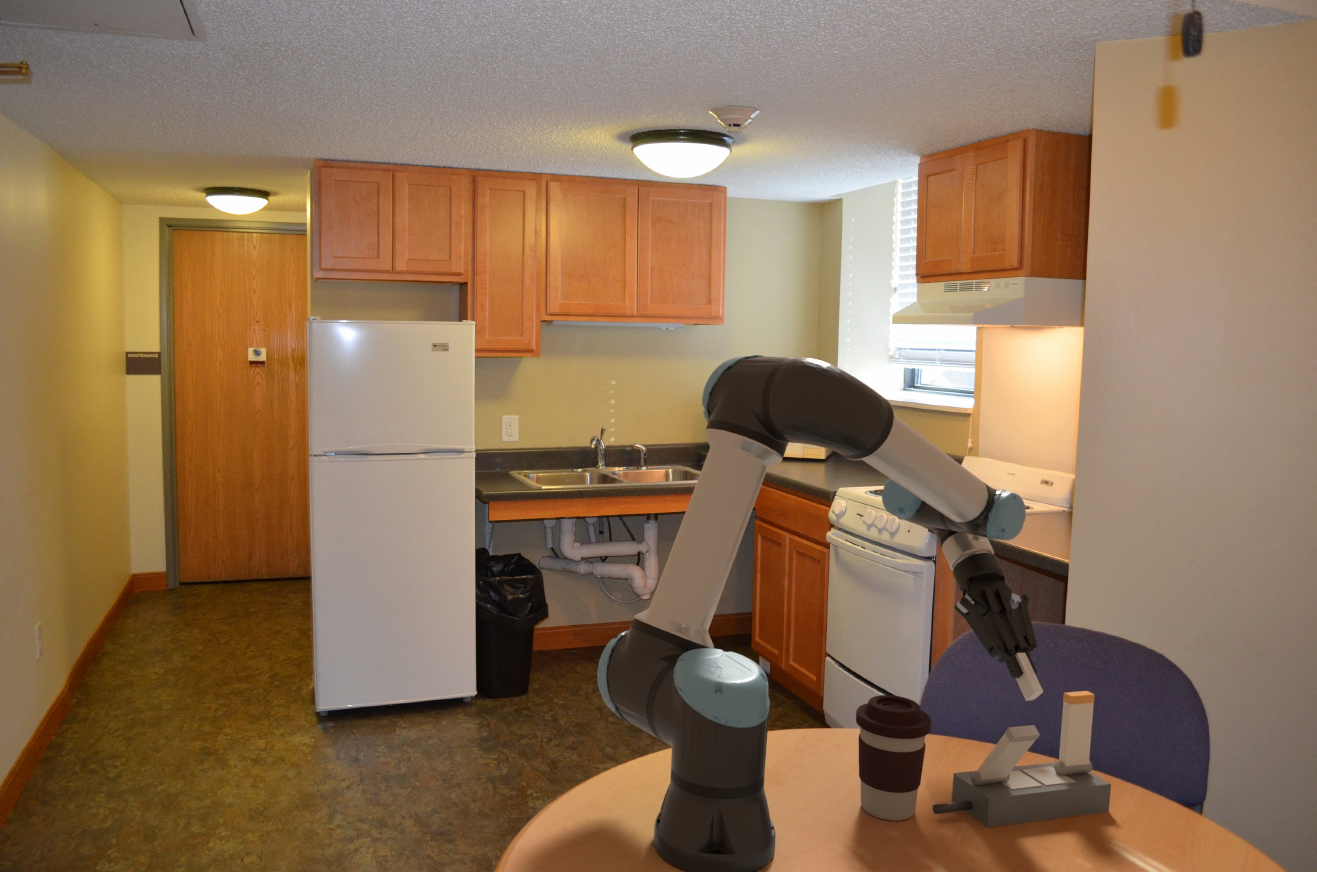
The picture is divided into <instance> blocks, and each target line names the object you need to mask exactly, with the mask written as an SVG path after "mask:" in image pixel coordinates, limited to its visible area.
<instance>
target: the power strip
mask: <svg viewBox="0 0 1317 872" xmlns="http://www.w3.org/2000/svg"><path fill="white" fill-rule="evenodd" d="M1056 762H1057V761H1053V762H1046V763H1044V762H1043V763H1037V764H1036V763H1035V764H1027V765H1025V764H1024V765H1016V766H1015V767H1014V768H1013V770H1012V771H1011V772H1010V773H1009V775H1010V778H1009V781H1006V782H998V783H989V784H980V785H974V784H973V783H972V781H971V772H972V771H973V770H969V771H962V772H961V771H959V772H954V773H953V776H952V777H953V778H952V790H951V791H952V793H951V802H946V803H945V802H944V803H937V804H933V805H932V806H931V807H932V808H931V809H932V813H934V815H941V814H948V813H955V812H963V811H965V812H967V814H969V815H971V816H972V817H973V818H974V819H975V820H976V821H978V822H979V823H981V824H982V825H983V826H985V827H986V828H993V827H1000V826H1009V825H1015V824H1016V825H1017V824H1023V823H1024V824H1025V823H1031V822H1040V821H1048V820H1049V821H1050V820H1056V819H1063V818H1071V817H1077V816H1087V815H1094V814H1102V813H1108V812H1109V811H1110V804H1111V803H1110V801H1111V789H1112V783H1110V782H1108V781H1107V780H1105V779H1104V778H1101V777H1100V776H1098V775H1096V774H1094V773H1092V771H1091V772H1086V773H1077V774H1068V775H1059V774H1057V773H1056V771H1055V763H1056Z"/></svg>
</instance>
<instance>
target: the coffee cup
mask: <svg viewBox="0 0 1317 872" xmlns="http://www.w3.org/2000/svg"><path fill="white" fill-rule="evenodd" d="M855 712H856V713H855V722H856V724H857V725H858V727H859V734H858V777H859V780H860V805H861V808H862V809H863V810H864V811H865V812H866V813H867V814H869V815H871V816H873V817H875V818H877V819H881V820H886V821H904V820H908V819H909V818H911V817H913V816H914V814H915V812H916V807H917V798H918V791H919V788H920V786H921V781H922V774H923V768H924V767H923V766H924V761H925V760H924V759H925V755H926V754H925V753H926V746H927V745H926V742H925V741H926V737H927V735H928V734H930V732H931V729H932V719H931V716H929V714H927V713H926V712H925V711H923V710H922V709H921V706H920V705H919V703H918V702H916V701H914V700H913V699H910V698H908V697H904V696H899V695H891V694H889V695H888V694H882V695H881V694H879V695H875V696H872V697H871V698H869V700H868V702H867V703H864V704H862V705H860V706H858V707H857V709H856V711H855Z"/></svg>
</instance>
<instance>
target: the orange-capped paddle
mask: <svg viewBox="0 0 1317 872" xmlns="http://www.w3.org/2000/svg"><path fill="white" fill-rule="evenodd" d="M1062 701H1063V702H1062V703H1063V704H1062V715H1061V729H1060V730H1061V731H1060V741H1059V755H1058V757H1059V758H1058V761H1055V762H1056V763H1055V771H1056V773H1057V774H1059V775H1068V774H1077V773H1086V772H1091V773H1092V771H1093V763H1092V761H1090V754H1091V739H1092V730H1093V728H1092V727H1093V715H1094V705H1095V704H1094V703H1095V694H1094V693H1092V692H1091V691H1088V690H1082V691H1081V690H1080V691H1069V692H1063V700H1062Z"/></svg>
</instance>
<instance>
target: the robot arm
mask: <svg viewBox="0 0 1317 872" xmlns="http://www.w3.org/2000/svg"><path fill="white" fill-rule="evenodd" d="M701 398H702V399H701V406H702V407H703V408H704V410H703V416H704V419H705V420H706V422H707V425H706V426H705V429H704V433H703V434H704V436H705V438H706V440H707V443H708V444H709V449H708V452H707V455H706V458H705V460H704V463H703V466H702V467H701V471H700V474H699V475H698V479H697V481H696V483H695V486H694V489H693V492H692V495H691V497H690V500H689V502H688V505H687V508H686V510H685V513H684V516H683V518H682V521H681V523H680V527H679V529H678V531H677V534H676V537H675V539H674V542H673V544H672V547H671V550H670V552H669V555H668V557H667V561H666V563H665V566H664V568H663V571H662V574H661V576H660V579H659V582H658V583H657V587H656V590H655V592H654V595H653V597H652V600H651V602H650V605H649V607H648V608H647V609H646V610H643V611H641V612H639V613H637V614H635V615H634V616H633V619H632V622H631V624H630V626H629V629H628V630H625V631H623V632H619V634H617V637H615V638H612V639H611V640H610V641H609V642H608V643H607V644H606V646H605V647H604V649H603V651H602V653H601V656H600V658H599V661H598V667H597V673H596V674H597V675H596V677H597V678H596V679H597V687H598V691H599V693H600V695H601V698H602V700H603V702H604V704H605V705H606V706H607V707H608V709H609V710H611V712H613V713H615V714H616V715H617V716H618V717H619V718H620V719H622V721H624V722H625V723H627V724H628V725H632V726H636V727H637V728H639V729H641V730H643V731H645V733H648V734H650V735H652V736H653V737H655V738H656V739H658V740H660V741H663V742H664V743H665V744H668V745H669V746H671V758H670V759H671V761H670V781H669V784H668V787H667V790H666V793H665V795H664V797H663V800H662V803H661V807H660V810H659V813H658V814H657V816H656V819H655V821H654V826H653V827H654V830H653V845H654V848H655V851H656V853H658V855H659V856H660V857H661V858H662V859H664V861H666V862H667V863H669V864H670V865H672V866H674V867H676V868H679V869H680V870H684V871H686V872H755V871H758V870H760V869H763V868H764V867H766V865H767V866H768V865H769V863H770V862H771V861H772V859H773V858H774V856H775V851H776V838H777V837H776V836H777V835H776V829H775V825H774V823H773V821H772V820H771V816H770V810H769V805H768V801H767V800H768V799H767V796H766V792H765V774H766V771H765V769H766V761H767V760H766V758H767V743H768V730H769V728H768V727H769V716H770V715H769V714H770V707H771V706H770V705H771V704H770V703H771V702H770V701H771V700H770V698H769V681H768V677H767V674H766V672H765V671H764V670H763V668H762V667H761V665H759V664H758V663H756V662H755V661H754V660H752V659H750V658H748V657H747V656H745V655H742V654H740V653H736V652H734V651H725V650H723V649H720V648H719V649H718V648H715V646H714V643H713V641H712V639H711V637H710V633H709V629H710V626H711V623H712V620H713V617H714V616H715V612H716V610H717V607H718V604H719V602H720V600H721V599H720V598H721V596H722V593H723V591H724V588H725V585H726V582H727V581H728V580H727V579H728V577H729V574H730V571H731V569H732V566H733V563H734V560H735V558H736V555H737V553H738V550H739V548H740V544H741V541H742V539H743V537H744V534H745V531H746V528H747V526H748V522H749V520H750V517H751V515H752V512H753V510H754V506H755V504H756V501H757V498H758V495H759V493H760V490H761V487H762V484H763V482H764V480H765V479H764V478H765V477H766V474H767V471H768V469H769V468H771V467H774V466H775V465H778V464H779V463H781V462H782V461H783V458H784V456H785V454H786V450H787V448H788V445H789V443H790V444H791V443H793V444H800V445H801V444H803V445H811V446H815V447H821V448H824V449H828V450H831V451H834V452H836V453H838V454H840V455H841V456H842V457H844V458H846V459H847V460H851V461H861V460H862V461H863V462H865V463H866V464H868V465H869V466H870V467H872V468H874V469H876V470H877V471H878V472H879V473H881V474H883V475H885V476H886V477H887V478H888V479H887V480H886V482H885V484H884V486H883V489H882V493H881V502H882V505H883V507H884V509H885V510H886V511H887V512H888V513H889V514H891V515H893V516H895V518H897V519H899V520H900V521H901V520H903V521H906V522H909V523H911V524H915V525H917V526H920V527H922V528H924V529H927V530H930V531H932V532H933V533H934V534H935V536H936V539H937V540H938V542H939V543H938V544H939V545H940V547H941V550H942V553H943V555H944V557H945V559H946V562H947V564H948V566H949V568H950V570H951V571H952V575H953V577H954V580H955V582H956V584H957V586H958V589H959V590H960V591H961V592H962V597H961V598H960V599H959V600H958V602H957V603H955V605H954V610H956V612H957V613H958V614H960V615H961V616H962V617H963V618H964V619H965V621H966V622H967V624H968V626H969V627H970V629H972V631H973V632H974V634H975V636H976V637H977V640H978V641H979V642H980V643H981V644H982V646H983V647H984V649H985V651H986V652H987V654H988V655H989V656H990V657H991V658H993V659H995V658H996V657H997V658H998V659H997V660H998V661H999V663H1001V664H1004V663H1005V666H1006V667H1007V670H1008V672H1009V675H1010V677H1012V679H1015V680H1016V682H1017V684H1018V686H1019V689H1020V691H1021V694H1022V695H1023V697H1024V701H1026V702H1027V701H1035V700H1036V699H1037V698H1038V697H1039V696H1040V695H1042V694H1043V693H1044V690H1043V688H1042V686H1041V684H1040V682H1039V679H1038V676H1037V669H1036V666H1035V664H1034V661H1033V660H1032V657H1031V653H1032V652H1033V651H1035V650H1036V649H1037V648H1038V643H1037V639H1036V635H1035V631H1034V627H1033V624H1032V619H1031V615H1030V611H1029V607H1028V606H1029V599H1030V598H1029V596H1028V595H1027V594H1022V595H1021V596H1020V595H1018V594H1016V593H1013V590H1012V588H1011V587H1010V586H1009V585H1008V584H1007V583H1006V581H1005V572H1004V571H1005V570H1003V569H1004V568H1003V567H1002V565H1001V563H1000V561H999V558H998V557H997V556H996V555H995V551H994V549H993V546H992V544H991V543H990V540H991V541H992V540H999V541H1000V540H1001V541H1006V542H1007V541H1011V540H1014V539H1015V538H1017V537H1018V536H1019V534H1020V533H1021V532H1022V530H1023V528H1024V523H1025V521H1026V517H1027V516H1026V515H1027V513H1026V512H1027V511H1026V510H1027V509H1026V504H1025V502H1024V500H1023V498H1022V497H1021V496H1020V495H1019V494H1018V493H1016V492H1012V491H1007V490H1006V489H996V488H993V487H991V486H990V485H989V484H987V483H986V482H985V481H982V479H980V478H979V477H977V476H976V475H974V473H972V472H971V471H970V470H968V469H967V468H966V467H964V466H963V465H961V464H960V463H959V462H958V461H956V460H955V459H953V458H952V457H951V456H949V455H948V454H947V453H946V452H944V451H943V450H942V449H940V448H939V447H938V446H936V445H935V444H934V443H932V442H931V441H930V440H928V439H927V438H925V437H924V436H923V435H922V434H920V433H919V432H917V431H916V430H915V429H913V428H912V427H911V426H910V425H909V424H907V423H905V422H904V421H903V420H902V419H900V418H899V417H897V416H896V413H895V409H894V407H893V405H892V404H891V402H890V401H889V400H888V399H886V398H885V397H884V396H882V395H881V394H880V393H878V392H877V391H876V390H875V389H873V388H872V387H870V386H869V385H867V384H866V383H864V382H863V381H861V380H860V379H859V378H857V377H855V376H854V375H852V374H850V373H848V372H847V371H845V370H843V369H841V368H840V367H837V366H835V365H834V364H831V363H829V362H827V361H824V360H820V359H817V358H812V357H785V356H784V357H783V356H782V357H781V356H765V355H762V354H750V355H744V356H736V357H733V358H730V359H728V360H726V361H724V362H722V363H721V364H719V365H718V366H717V367H716V368H715V369H714V370H713V371H712V372H711V374H710V375H709V377H708V379H707V380H706V383H705V385H704V388H703V392H702V397H701Z"/></svg>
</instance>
